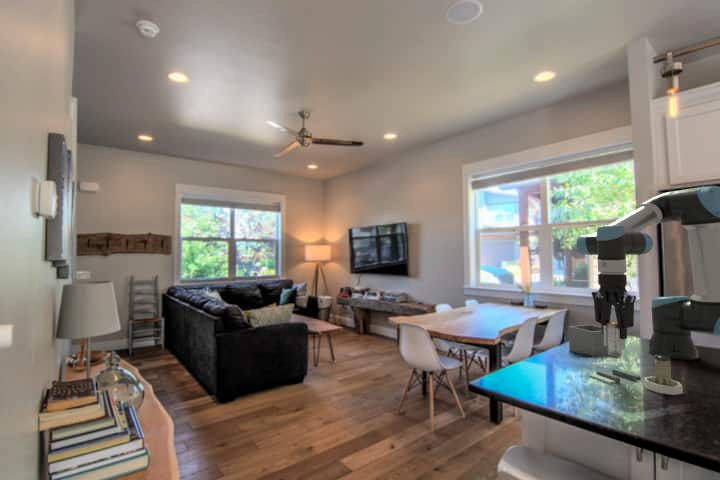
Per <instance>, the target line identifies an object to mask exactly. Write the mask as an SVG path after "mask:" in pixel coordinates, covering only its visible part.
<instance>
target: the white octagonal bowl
mask: <svg viewBox="0 0 720 480" xmlns="http://www.w3.org/2000/svg"><path fill="white" fill-rule="evenodd" d="M643 379H644V382H643V386H644V388H645V389H646V390H650V391H653V392H655V393H657V394H664V395H673V396H676V395H682V394H683V393H684V392H683V391H684V390H683V389H684V388H683V385H682V384H681V382H680V381H677V380H673V379H671V386H666V385H658V384H655V376H651V375H650V376H645V377H643Z"/></svg>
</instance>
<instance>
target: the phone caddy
mask: <svg viewBox="0 0 720 480" xmlns="http://www.w3.org/2000/svg"><path fill="white" fill-rule="evenodd" d="M568 344H569V345H568V346H569V351H571V352H574V353H575V352H577V351H578V352H582V353H585V354H589V355H592V356H593V357H592V358H595V357H594V356H599V357H612V356H611V355H608V346H604V335H603V334H602V326H599V325H598V326H597V325H593V324H583V325H582V324H581V325H571V326H569V325H568Z"/></svg>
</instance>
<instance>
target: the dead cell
mask: <svg viewBox="0 0 720 480" xmlns="http://www.w3.org/2000/svg"><path fill="white" fill-rule="evenodd" d="M653 357H654V358H653V360H654V365H653V366H654V377H655V384H658V385H666V386H671V380H672V373H671V370H672V369H671V358H670V357H668V356H663V355H654V354H653Z"/></svg>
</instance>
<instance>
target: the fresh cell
mask: <svg viewBox="0 0 720 480" xmlns="http://www.w3.org/2000/svg"><path fill="white" fill-rule="evenodd" d="M617 327H618V323H617V322H611V321H610V322H608V323H607V336H608V355H611V356H610V357H617V358H619V357H623V349H620V350H618V349H617V348H616V328H617Z"/></svg>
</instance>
